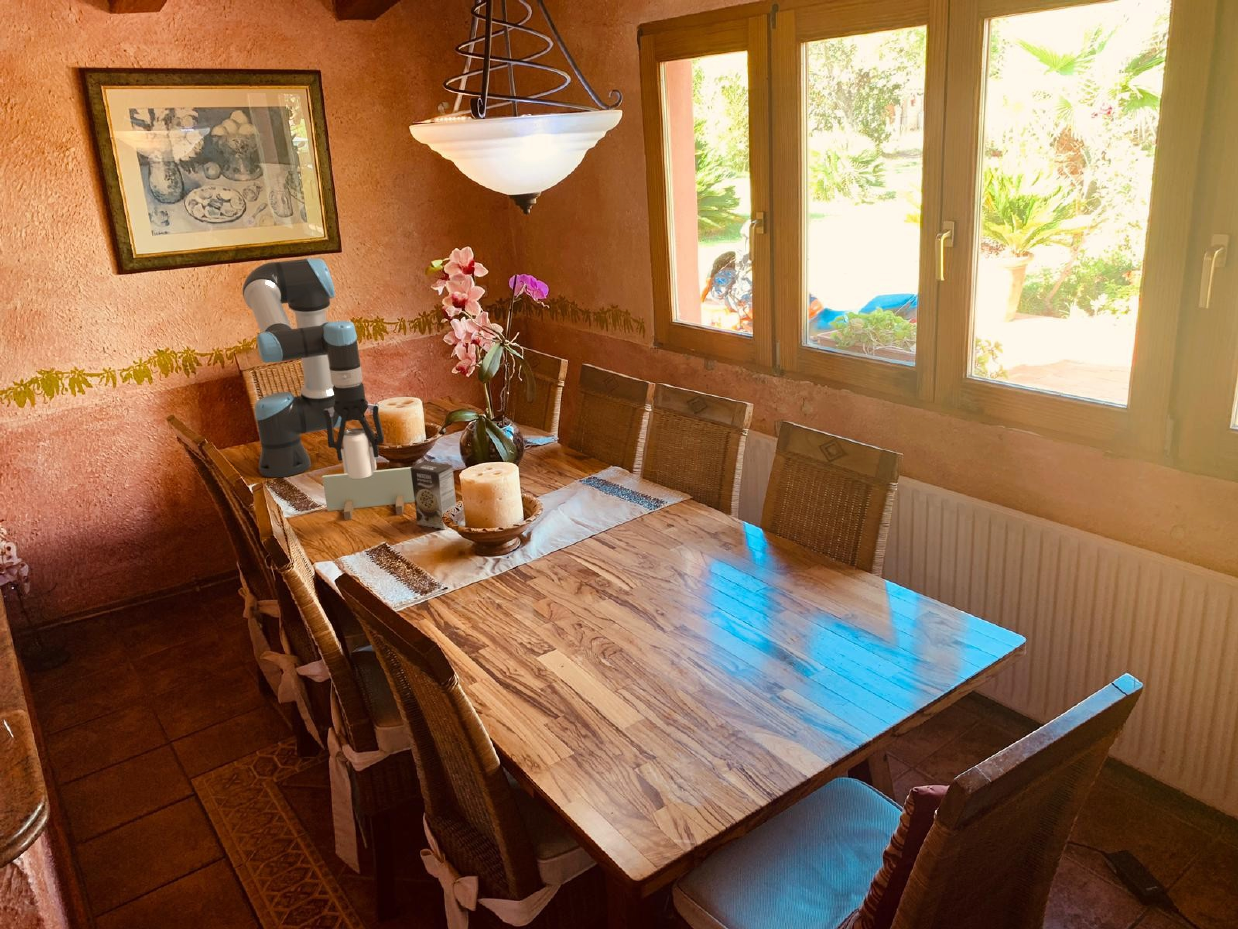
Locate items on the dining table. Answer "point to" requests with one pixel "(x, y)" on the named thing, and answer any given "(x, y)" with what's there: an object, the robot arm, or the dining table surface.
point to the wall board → (369, 490)
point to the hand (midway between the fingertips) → (360, 470)
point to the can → (357, 454)
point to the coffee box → (433, 492)
